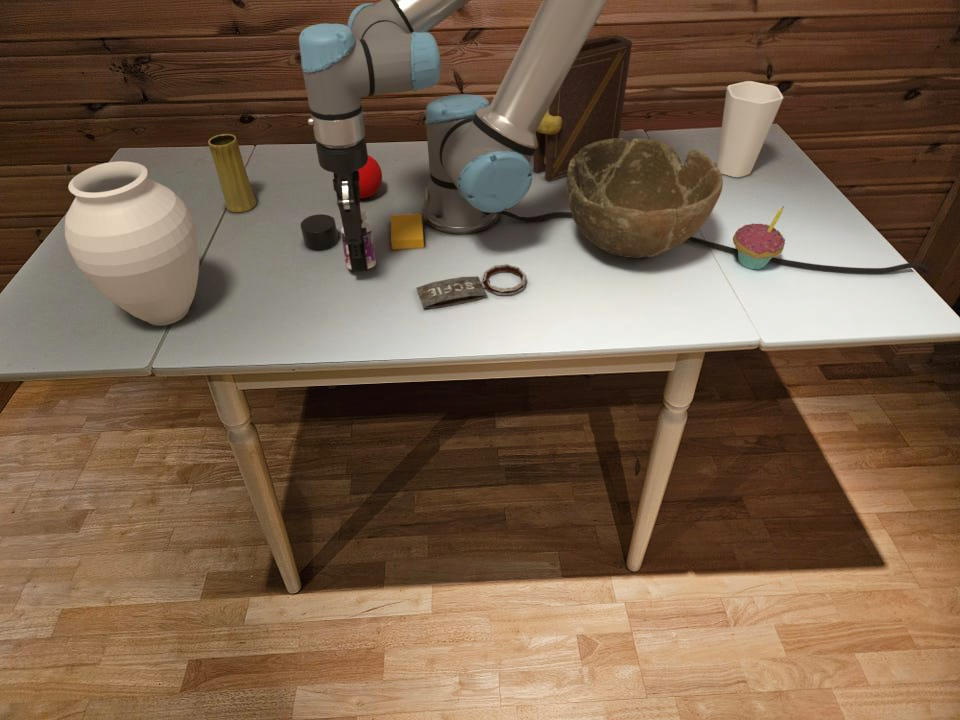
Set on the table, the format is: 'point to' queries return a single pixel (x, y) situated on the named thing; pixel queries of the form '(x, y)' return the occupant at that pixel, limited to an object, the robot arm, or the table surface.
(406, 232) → the orange rectangular block
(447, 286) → the keychain
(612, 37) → the book
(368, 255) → the pill bottle
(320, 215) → the metal tin
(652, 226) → the bowl
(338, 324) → the table surface
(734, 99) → the cup
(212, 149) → the vase
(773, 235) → the cupcake
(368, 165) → the ornament
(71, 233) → the vase
